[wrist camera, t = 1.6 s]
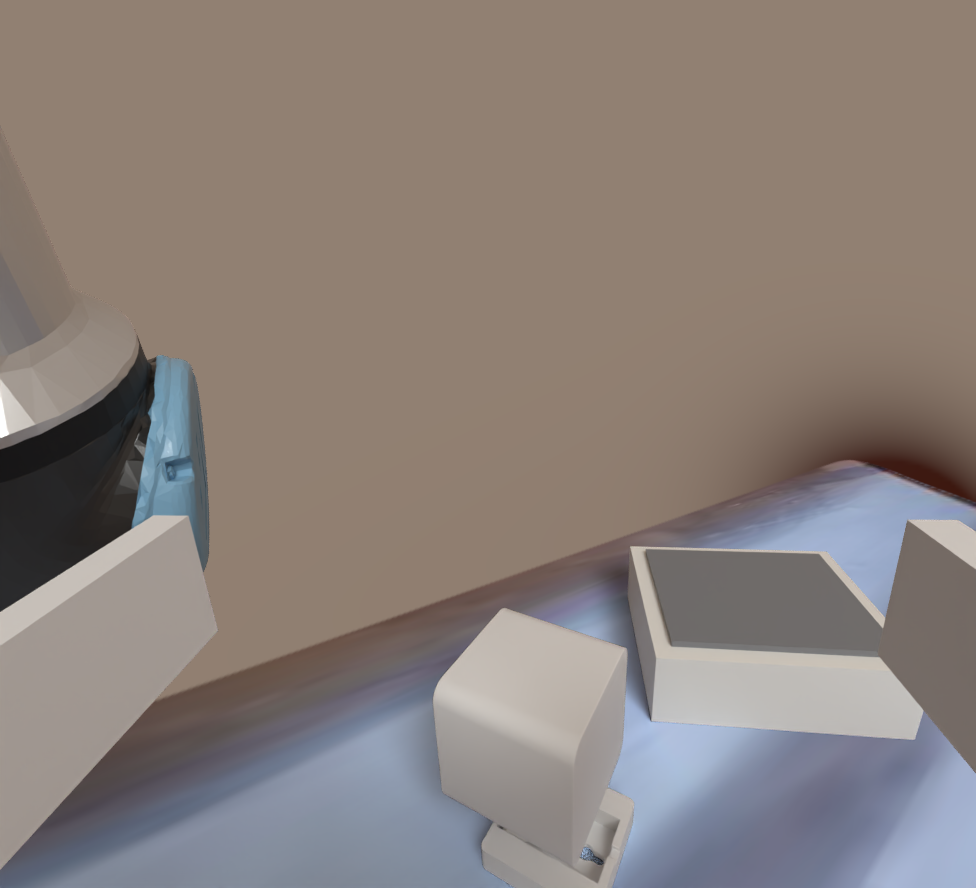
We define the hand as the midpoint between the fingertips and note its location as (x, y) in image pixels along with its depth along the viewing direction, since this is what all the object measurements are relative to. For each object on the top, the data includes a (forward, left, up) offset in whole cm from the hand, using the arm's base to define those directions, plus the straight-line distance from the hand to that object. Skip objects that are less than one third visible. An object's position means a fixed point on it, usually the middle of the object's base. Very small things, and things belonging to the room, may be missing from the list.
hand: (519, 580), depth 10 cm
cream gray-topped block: (+13, +22, -20) cm, 33 cm away
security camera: (0, +9, -21) cm, 22 cm away
